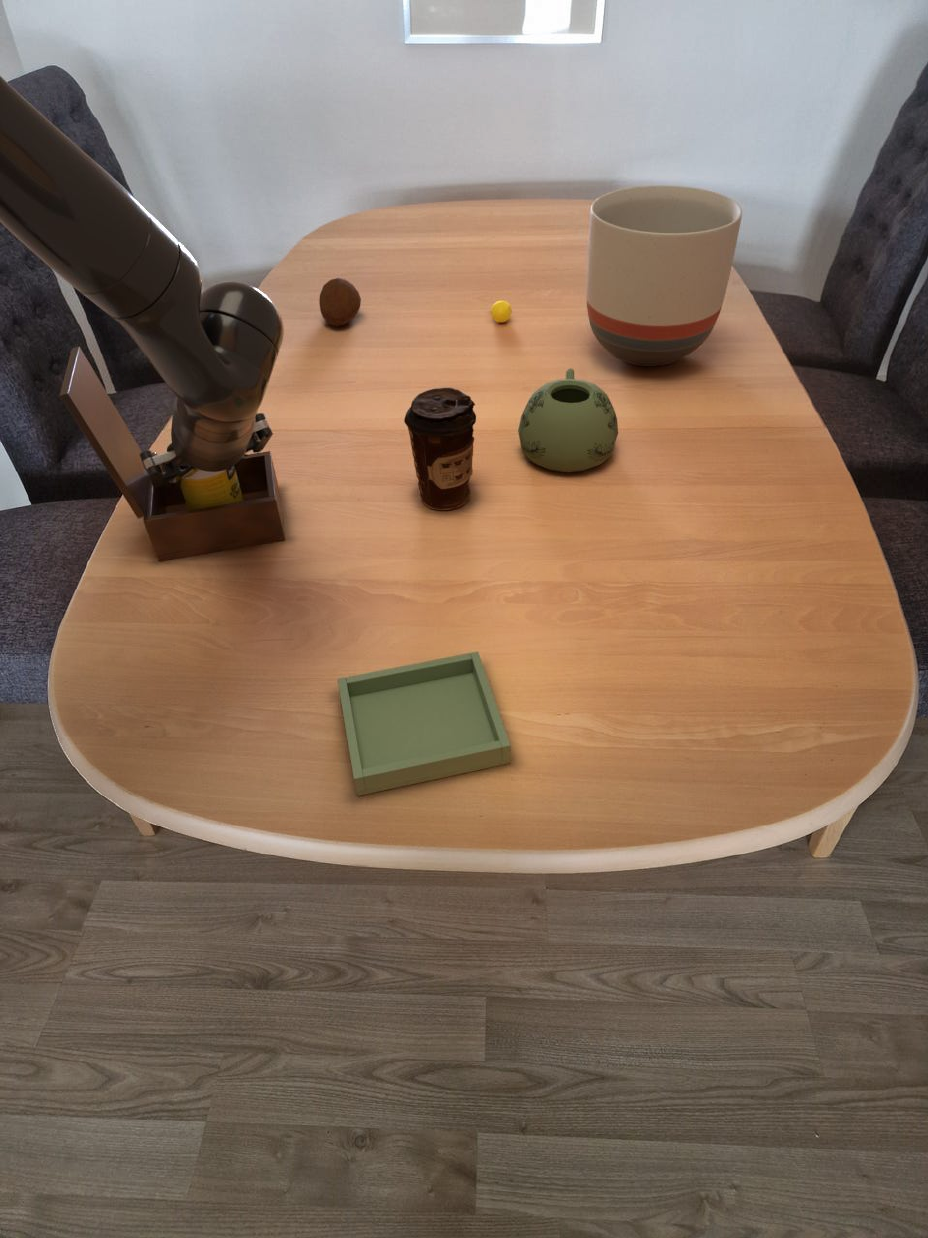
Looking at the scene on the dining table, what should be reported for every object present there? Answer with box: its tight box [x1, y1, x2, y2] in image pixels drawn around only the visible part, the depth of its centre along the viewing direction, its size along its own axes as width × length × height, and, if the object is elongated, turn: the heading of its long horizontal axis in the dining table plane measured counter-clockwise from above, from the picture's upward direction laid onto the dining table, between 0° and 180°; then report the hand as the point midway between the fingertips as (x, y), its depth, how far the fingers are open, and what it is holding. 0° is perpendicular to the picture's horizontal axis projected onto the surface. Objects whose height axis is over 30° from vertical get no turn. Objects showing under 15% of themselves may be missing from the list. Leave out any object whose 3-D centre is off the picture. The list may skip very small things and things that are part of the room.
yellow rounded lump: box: [490, 300, 513, 323], centre depth 136 cm, size 3×6×4 cm, turn 2°
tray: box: [336, 651, 512, 797], centre depth 73 cm, size 14×12×3 cm
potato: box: [318, 277, 362, 327], centre depth 136 cm, size 7×10×7 cm
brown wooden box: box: [142, 450, 286, 562], centre depth 96 cm, size 15×11×6 cm
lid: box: [59, 346, 148, 519], centre depth 87 cm, size 16×11×1 cm
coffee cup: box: [403, 387, 477, 511], centre depth 96 cm, size 9×8×13 cm
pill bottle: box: [180, 466, 244, 510], centre depth 93 cm, size 6×6×12 cm
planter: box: [585, 184, 743, 367], centre depth 118 cm, size 20×20×21 cm
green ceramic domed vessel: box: [517, 367, 619, 473], centre depth 105 cm, size 16×13×9 cm
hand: (202, 469), depth 94 cm, fingers closed on pill bottle, 6 cm apart
